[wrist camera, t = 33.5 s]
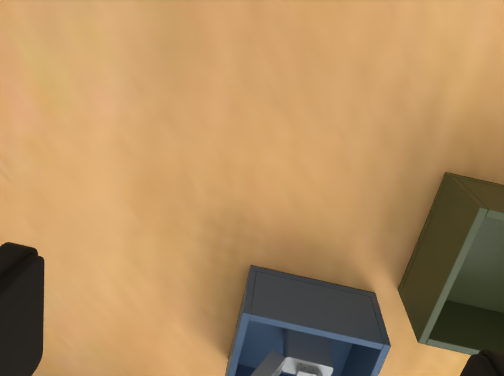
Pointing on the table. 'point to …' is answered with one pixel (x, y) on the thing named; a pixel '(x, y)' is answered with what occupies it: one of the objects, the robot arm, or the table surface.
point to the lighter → (299, 356)
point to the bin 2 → (459, 269)
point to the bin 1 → (307, 322)
